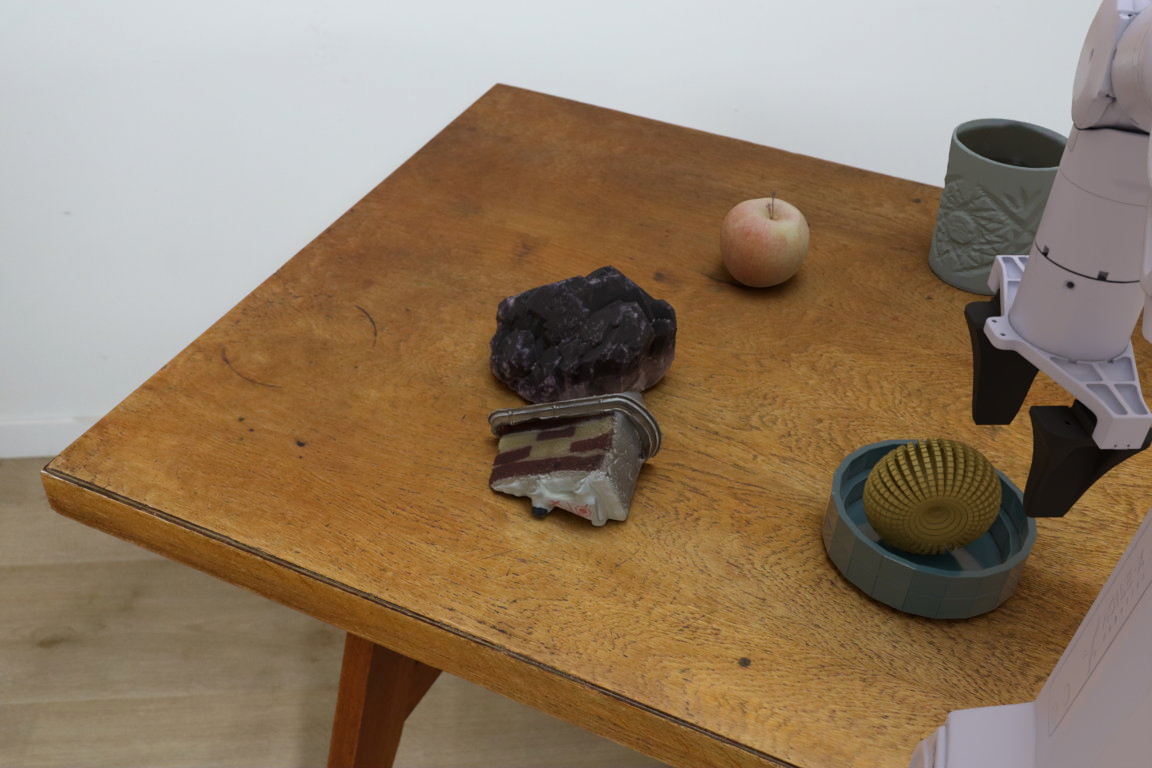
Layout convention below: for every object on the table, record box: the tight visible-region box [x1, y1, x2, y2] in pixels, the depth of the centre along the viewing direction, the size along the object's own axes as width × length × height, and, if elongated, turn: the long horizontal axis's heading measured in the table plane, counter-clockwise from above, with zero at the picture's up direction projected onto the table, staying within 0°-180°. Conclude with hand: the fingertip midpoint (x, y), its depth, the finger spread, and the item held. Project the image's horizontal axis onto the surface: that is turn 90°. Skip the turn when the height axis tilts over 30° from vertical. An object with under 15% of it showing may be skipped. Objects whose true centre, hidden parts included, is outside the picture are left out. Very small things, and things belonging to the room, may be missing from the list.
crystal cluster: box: [489, 264, 678, 404], centre depth 80 cm, size 13×14×10 cm
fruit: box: [719, 190, 811, 288], centre depth 92 cm, size 8×7×8 cm
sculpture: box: [863, 437, 1002, 555], centre depth 66 cm, size 8×4×8 cm, turn 87°
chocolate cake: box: [486, 391, 664, 527], centre depth 71 cm, size 10×7×12 cm
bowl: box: [821, 438, 1038, 620], centre depth 68 cm, size 12×12×4 cm
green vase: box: [928, 117, 1069, 296], centre depth 94 cm, size 10×10×12 cm
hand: (1015, 465), depth 62 cm, fingers open, 7 cm apart
